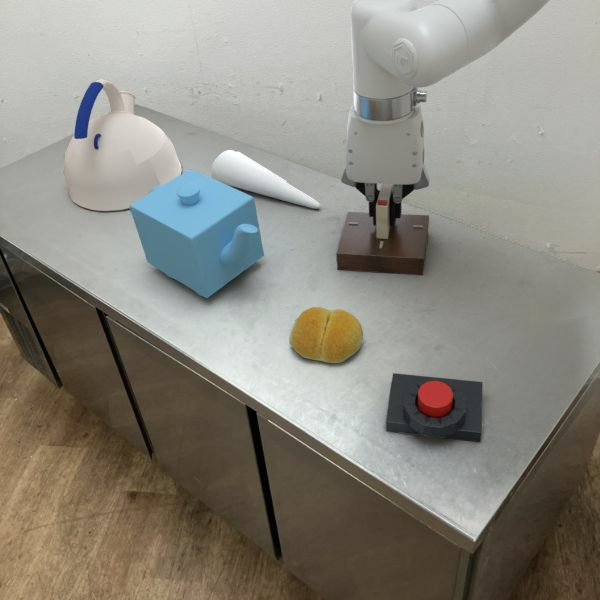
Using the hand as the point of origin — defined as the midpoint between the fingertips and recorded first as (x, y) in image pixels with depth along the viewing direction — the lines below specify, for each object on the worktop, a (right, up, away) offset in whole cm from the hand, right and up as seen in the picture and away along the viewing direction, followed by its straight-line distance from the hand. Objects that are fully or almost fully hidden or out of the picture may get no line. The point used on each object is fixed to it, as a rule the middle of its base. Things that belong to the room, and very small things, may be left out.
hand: (385, 219), depth 93 cm
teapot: (-24, -8, +1) cm, 26 cm away
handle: (0, -1, +1) cm, 1 cm away
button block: (+3, -24, -21) cm, 32 cm away
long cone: (-18, +5, +15) cm, 23 cm away
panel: (0, -4, +2) cm, 4 cm away
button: (+2, -23, -24) cm, 33 cm away
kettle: (-43, +10, +23) cm, 50 cm away
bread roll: (-9, -17, -11) cm, 22 cm away
